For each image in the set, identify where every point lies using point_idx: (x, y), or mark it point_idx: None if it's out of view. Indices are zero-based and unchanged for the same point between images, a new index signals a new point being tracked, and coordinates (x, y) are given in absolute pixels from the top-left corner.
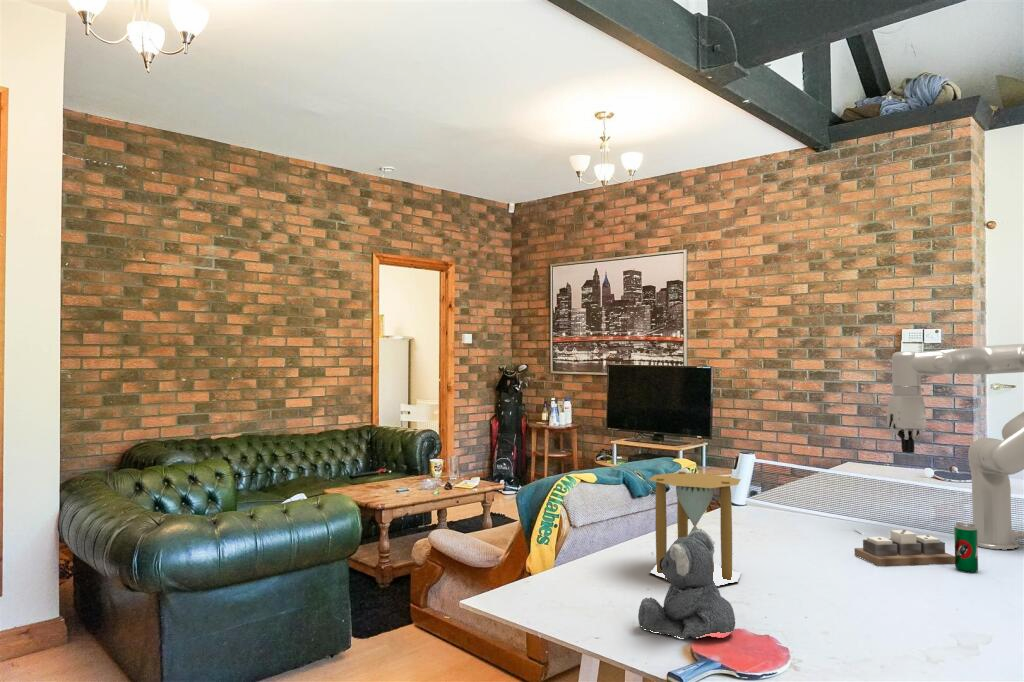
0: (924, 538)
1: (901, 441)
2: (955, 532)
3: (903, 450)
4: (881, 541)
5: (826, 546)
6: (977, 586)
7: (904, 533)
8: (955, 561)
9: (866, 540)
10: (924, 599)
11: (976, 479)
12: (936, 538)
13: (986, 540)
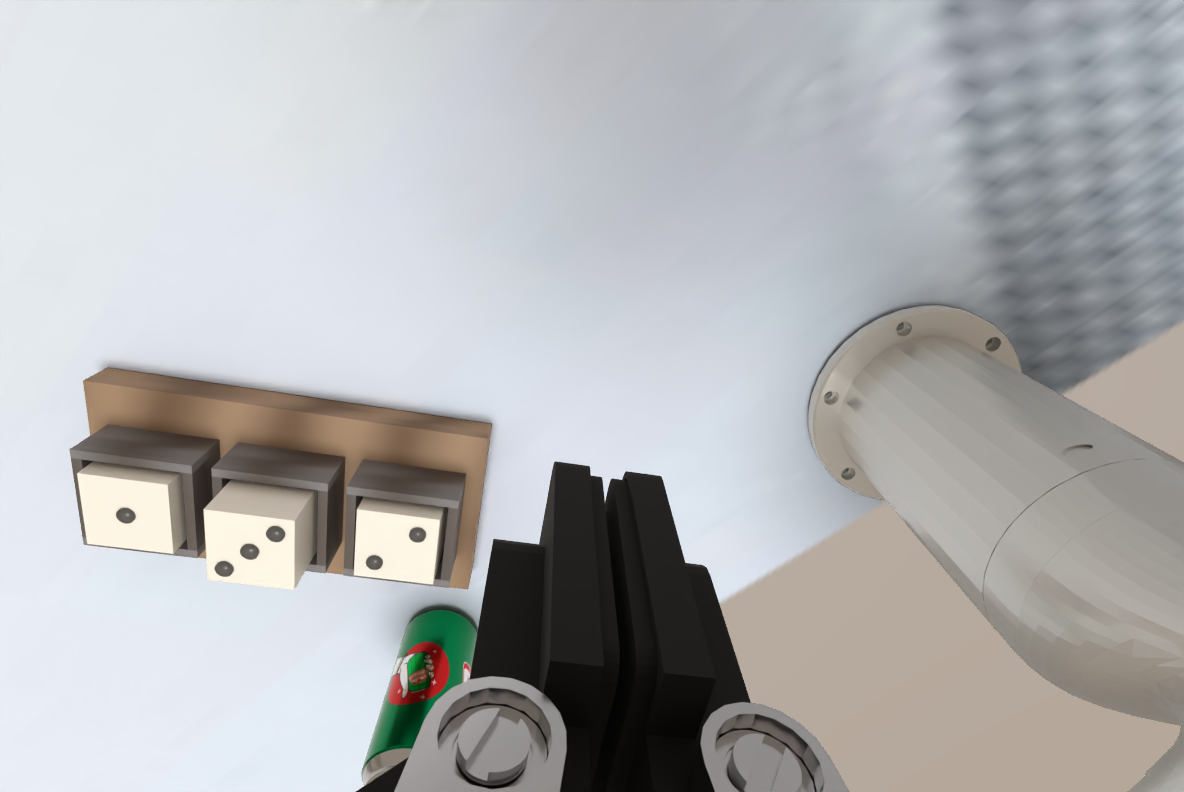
0: (365, 561)
1: (474, 657)
2: (369, 747)
3: (546, 510)
4: (112, 545)
5: (32, 179)
6: (335, 743)
7: (237, 571)
8: (404, 640)
9: (80, 467)
10: (80, 784)
11: (1065, 621)
12: (427, 571)
13: (847, 445)
